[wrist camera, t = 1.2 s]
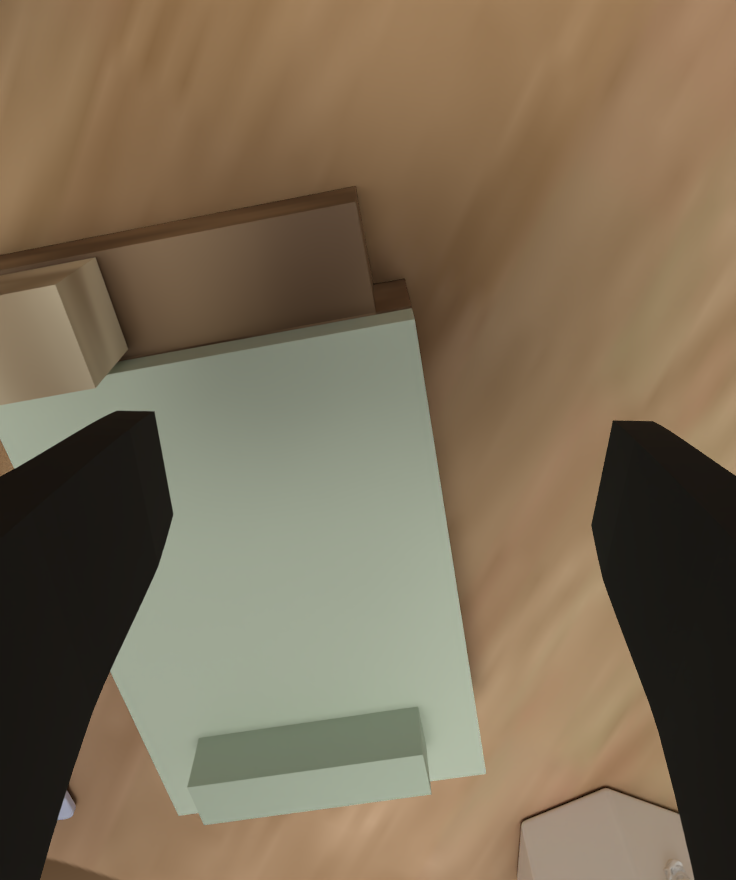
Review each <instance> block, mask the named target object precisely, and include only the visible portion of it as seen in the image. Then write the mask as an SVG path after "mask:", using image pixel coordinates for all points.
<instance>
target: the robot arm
mask: <svg viewBox="0 0 736 880" xmlns="http://www.w3.org/2000/svg"><path fill="white" fill-rule="evenodd" d="M172 518H173V509H172V504H171V498H170V493H169V487H168V482H167V476H166V471H165V466H164V460H163V455H162V449H161V444H160V438H159V433H158V428H157V422H156V417H155V411H115V412H113V413H110V414H108V415H106V416H104V417H102V418H100V419H99V420H97V421H95V422H93V423H91V424H90V425H88V426H86V427H84V428H83V429H81V430H79V431H78V432H76V433H74V434H72V435H71V436H69V437H67V438H66V439H64V440H62V441H61V442H59V443H57V444H56V445H54V446H52V447H51V448H49V449H47V450H46V451H44V452H42V453H41V454H39V455H37V456H36V457H34V458H32V459H30V460H29V461H27V462H25V463H24V464H22V465H20V466H19V467H17V468H15V469H13V470H12V471H10V472H8V473H6V474H4V475H2V476H1V477H0V880H40V878H41V874H42V870H43V867H44V863H45V860H46V856H47V853H48V849H49V846H50V842H51V839H52V835H53V832H54V829H55V826H56V823H57V820H62V819H67V818H70V817H72V816H73V814H74V811H75V808H76V806H75V803H74V801H73V800H72V798H71V796H70V794H69V793H68V791H67V787H68V784H69V781H70V778H71V775H72V771H73V768H74V765H75V762H76V759H77V757H78V754H79V751H80V748H81V745H82V742H83V739H84V736H85V733H86V730H87V727H88V724H89V721H90V718H91V715H92V712H93V710H94V707H95V705H96V702H97V700H98V698H99V695H100V693H101V690H102V688H103V685H104V683H105V681H106V679H107V677H108V674H109V672H110V670H111V668H112V666H113V664H114V662H115V660H116V657H117V655H118V653H119V651H120V649H121V647H122V645H123V642H124V640H125V638H126V636H127V634H128V632H129V630H130V627H131V625H132V623H133V621H134V619H135V617H136V615H137V612H138V610H139V608H140V606H141V604H142V602H143V599H144V597H145V595H146V593H147V591H148V588H149V586H150V584H151V582H152V580H153V577H154V575H155V573H156V571H157V568H158V566H159V563H160V559H161V556H162V553H163V550H164V547H165V543H166V540H167V536H168V533H169V529H170V525H171V522H172ZM591 526H592V531H593V536H594V541H595V546H596V551H597V556H598V560H599V564H600V569H601V573H602V577H603V581H604V584H605V587H606V589H607V592H608V595H609V598H610V600H611V603H612V606H613V609H614V611H615V614H616V617H617V619H618V622H619V625H620V627H621V630H622V633H623V635H624V638H625V641H626V643H627V646H628V649H629V651H630V654H631V656H632V659H633V662H634V664H635V667H636V670H637V672H638V675H639V678H640V680H641V683H642V686H643V688H644V691H645V693H646V696H647V699H648V701H649V704H650V707H651V710H652V713H653V717H654V720H655V723H656V726H657V729H658V732H659V736H660V739H661V743H662V747H663V751H664V755H665V759H666V763H667V767H668V770H669V774H670V778H671V782H672V786H673V790H674V794H675V798H676V802H677V806H678V811H679V815H680V819H681V824H682V828H683V832H684V836H685V841H686V845H687V849H688V853H689V858H690V862H691V866H692V871H693V876H694V880H736V476H735V475H734V474H732V473H731V472H729V471H728V470H726V469H725V468H723V467H722V466H720V465H719V464H717V463H716V462H715V461H713V460H712V459H710V458H709V457H707V456H706V455H704V454H703V453H702V452H700V451H699V450H697V449H696V448H694V447H693V446H691V445H690V444H689V443H687V442H686V441H684V440H683V439H681V438H680V437H678V436H677V435H675V434H674V433H672V432H671V431H669V430H667V429H666V428H664V427H662V426H661V425H659V424H657V423H655V422H653V421H613V423H612V428H611V433H610V438H609V442H608V447H607V452H606V457H605V462H604V467H603V472H602V477H601V481H600V486H599V491H598V496H597V501H596V506H595V511H594V515H593V520H592V525H591Z"/></svg>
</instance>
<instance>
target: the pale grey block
mask: <svg viewBox="0 0 736 880" xmlns="http://www.w3.org/2000/svg"><path fill="white" fill-rule="evenodd" d="M127 350H128V347H127V344H126V342H125V339H124V336H123V333H122V330H121V328H120V325H119V322H118V319H117V316H116V314H115V311H114V308H113V305H112V302H111V300H110V297H109V294H108V291H107V288H106V286H105V283H104V280H103V277H102V274H101V272H100V269H99V266H98V263H97V260H96V258H95V257H94V258H89V259H84V260H78V261H73V262H68V263H63V264H58V265H52V266H47V267H42V268H37V269H32V270H27V271H21V272H16V273H11V274H6V275H1V276H0V405H5V404H10V403H16V402H21V401H27V400H33V399H38V398H44V397H49V396H55V395H60V394H66V393H71V392H77V391H83V390H88V389H94V388H96V387H97V386H98V385H99V383H100V382H101V381H102V380H103V379H104V377H105V376H106V375H107V374H108V373H109V372H110V370H111V369H112V368H113V367H114V366H115V364H116V363H117V362H118V361H119V360H120V358H121V357H122V356H123V355H124V354H125V352H126V351H127Z"/></svg>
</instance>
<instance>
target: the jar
mask: <svg viewBox="0 0 736 880" xmlns="http://www.w3.org/2000/svg"><path fill="white" fill-rule="evenodd" d="M517 880H694V876H693V871H692V866H691V862H690V858H689V853H688V849H687V845H686V841H685V836H684V832H683V828H682V824H681V819H680V815H679V814H678V813H676V812H673V811H670V810H667V809H664V808H662V807H659V806H656V805H653V804H650V803H648V802H645V801H642V800H639V799H636V798H634V797H631V796H628V795H625V794H622V793H620V792H617V791H614V790H611V789H608V788H603V789H601V790H598V791H596V792H594V793H591V794H589V795H586V796H584V797H581V798H579V799H576V800H574V801H572V802H569V803H567V804H564V805H562V806H559V807H557V808H554V809H552V810H549V811H547V812H544V813H542V814H539V815H537V816H535V817H532V818H529V819H527V820H525V821H523V823H522V824H521V835H520V848H519V860H518V873H517Z"/></svg>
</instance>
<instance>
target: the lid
mask: <svg viewBox="0 0 736 880" xmlns="http://www.w3.org/2000/svg"><path fill="white" fill-rule="evenodd" d="M115 411H155V417H156V422H157V428H158V433H159V438H160V444H161V449H162V455H163V460H164V466H165V471H166V476H167V482H168V487H169V493H170V498H171V504H172V509H173V518H172V522H171V525H170V529H169V533H168V536H167V540H166V543H165V547H164V550H163V553H162V556H161V559H160V563H159V566H158V568H157V571H156V573H155V575H154V577H153V580H152V582H151V584H150V586H149V588H148V591H147V593H146V595H145V597H144V599H143V602H142V604H141V606H140V608H139V610H138V612H137V615H136V617H135V619H134V621H133V623H132V625H131V627H130V630H129V632H128V634H127V636H126V638H125V640H124V642H123V645H122V647H121V649H120V651H119V653H118V655H117V657H116V660H115V662H114V664H113V666H112V668H111V670H110V672H111V674H112V676H113V678H114V680H115V682H116V684H117V687H118V689H119V691H120V693H121V695H122V697H123V699H124V701H125V703H126V706H127V708H128V710H129V712H130V714H131V716H132V718H133V720H134V722H135V725H136V727H137V729H138V731H139V733H140V735H141V737H142V739H143V741H144V744H145V746H146V748H147V750H148V752H149V754H150V756H151V758H152V761H153V763H154V765H155V767H156V769H157V771H158V773H159V775H160V777H161V780H162V782H163V784H164V786H165V788H166V790H167V792H168V794H169V796H170V799H171V801H172V803H173V805H174V807H175V809H176V811H177V813H178V815H179V816H180V815H188V814H195V813H199V815H200V817H201V819H202V822H203V824H204V825H209V824H216V823H223V822H231V821H238V820H245V819H253V818H260V817H268V816H275V815H282V814H290V813H297V812H305V811H312V810H319V809H327V808H334V807H341V806H349V805H356V804H364V803H371V802H378V801H386V800H393V799H401V798H408V797H415V796H423V795H430V794H431V786H430V781H436V780H444V779H451V778H458V777H466V776H473V775H480V774H486V770H485V763H484V757H483V751H482V744H481V738H480V732H479V725H478V719H477V712H476V706H475V700H474V693H473V687H472V681H471V674H470V668H469V662H468V655H467V649H466V642H465V636H464V630H463V623H462V617H461V611H460V604H459V598H458V592H457V585H456V579H455V572H454V566H453V560H452V553H451V547H450V541H449V534H448V528H447V522H446V515H445V509H444V502H443V496H442V490H441V483H440V477H439V471H438V464H437V458H436V452H435V445H434V439H433V432H432V426H431V420H430V413H429V407H428V401H427V394H426V388H425V382H424V375H423V369H422V363H421V356H420V350H419V343H418V337H417V331H416V324H415V318H414V314H413V310H412V308H410V309H404V310H399V311H393V312H388V313H382V314H377V315H371V316H366V317H360V318H355V319H349V320H344V321H338V322H333V323H327V324H322V325H316V326H311V327H305V328H300V329H294V330H289V331H283V332H278V333H273V334H267V335H262V336H256V337H251V338H245V339H240V340H234V341H229V342H223V343H218V344H212V345H207V346H201V347H196V348H190V349H185V350H179V351H174V352H168V353H163V354H157V355H152V356H146V357H141V358H135V359H130V360H124V361H119V362H117V363H116V364H115V366H114V367H113V368H112V369H111V370H110V372H109V373H108V374H107V375H106V376H105V377H104V379H103V380H102V381H101V382H100V383H99V385H98V386H97V387H96V388H94V389H88V390H83V391H77V392H71V393H66V394H60V395H55V396H49V397H44V398H38V399H33V400H27V401H21V402H16V403H10V404H5V405H0V440H1V442H2V444H3V446H4V448H5V450H6V452H7V454H8V456H9V459H10V461H11V463H12V465H13V467H14V469H15V468H17V467H19V466H20V465H22V464H24V463H25V462H27V461H29V460H30V459H32V458H34V457H36V456H37V455H39V454H41V453H42V452H44V451H46V450H47V449H49V448H51V447H52V446H54V445H56V444H57V443H59V442H61V441H62V440H64V439H66V438H67V437H69V436H71V435H72V434H74V433H76V432H78V431H79V430H81V429H83V428H84V427H86V426H88V425H90V424H91V423H93V422H95V421H97V420H99V419H100V418H102V417H104V416H106V415H108V414H110V413H113V412H115Z"/></svg>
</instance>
